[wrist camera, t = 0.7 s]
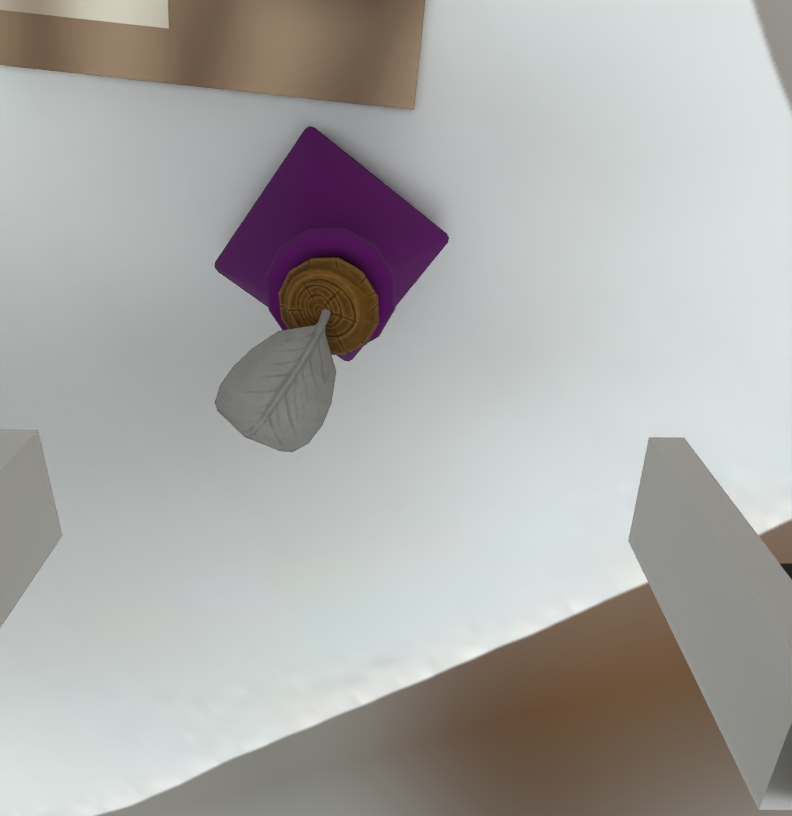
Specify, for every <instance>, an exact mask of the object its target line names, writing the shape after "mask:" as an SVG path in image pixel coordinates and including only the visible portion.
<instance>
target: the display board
mask: <svg viewBox="0 0 792 816" xmlns="http://www.w3.org/2000/svg"><path fill="white" fill-rule="evenodd" d="M424 7H425V0H0V65H5V66H15V67H24V68H33V69H42V70H51V71H61V72H70V73H79V74H88V75H97V76H107V77H116V78H125V79H134V80H144V81H153V82H162V83H171V84H180V85H190V86H199V87H208V88H217V89H226V90H236V91H245V92H254V93H263V94H273V95H282V96H291V97H300V98H309V99H319V100H328V101H337V102H346V103H355V104H365V105H374V106H383V107H392V108H402V109H411V110H414V104H415V94H416V84H417V75H418V65H419V55H420V46H421V36H422V26H423V16H424Z"/></svg>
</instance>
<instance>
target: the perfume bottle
mask: <svg viewBox="0 0 792 816" xmlns="http://www.w3.org/2000/svg"><path fill="white" fill-rule="evenodd" d="M448 240H449V237H448V235H447V233H445V232H444V231H443V230H442V229H440V228H439V227H438V226H437V225H435V224H434V223H433V222H432V221H430V220H429V219H428V218H427V217H425V216H424V215H423V214H422V213H420V212H419V211H418V210H417V209H415V208H414V207H413V206H412V205H410V204H409V203H408V202H407V201H405V200H404V199H403V198H402V197H400V196H399V195H398V194H397V193H395V192H394V191H393V190H392V189H390V188H389V187H388V186H387V185H385V184H384V183H383V182H382V181H380V180H379V179H378V178H377V177H375V176H374V175H373V174H372V173H370V172H369V171H368V170H367V169H365V168H364V167H363V166H362V165H360V164H359V163H358V162H357V161H355V160H354V159H353V158H352V157H350V156H349V155H348V154H347V153H345V152H344V151H343V150H342V149H341V148H339V147H338V146H337V145H336V144H334V143H333V142H332V141H331V140H329V139H328V138H327V137H326V136H324V135H323V134H322V133H321V132H319V131H318V130H317V129H316V128H314V127H310V126H309V127H308V128H306V129H305V130H304V132H303V133H302V135H301V136H300V138H299V139H298V141H297V142H296V144H295V145H294V147H293V148H292V149H291V151H290V152H289V154H288V155H287V157H286V158H285V160H284V161H283V163H282V164H281V166H280V167H279V169H278V170H277V172H276V173H275V175H274V176H273V178H272V179H271V181H270V182H269V183H268V185H267V186H266V188H265V189H264V191H263V192H262V194H261V195H260V197H259V198H258V200H257V201H256V203H255V204H254V206H253V207H252V209H251V210H250V212H249V213H248V215H247V216H246V218H245V219H244V220H243V222H242V223H241V225H240V226H239V228H238V229H237V231H236V232H235V234H234V235H233V237H232V238H231V240H230V241H229V243H228V244H227V246H226V247H225V249H224V250H223V252H222V253H221V254H220V256H219V257H218V259H217V260H216V262H215V268H216V269H217V271H218V272H219V273H221V274H222V275H223V276H225V277H226V278H228V279H229V280H231V281H232V282H233V283H235V284H236V285H238V286H239V287H241V288H242V289H243V290H245V291H246V292H248V293H249V294H250V295H252V296H253V297H255V298H256V299H258V300H259V301H260V302H262V303H263V304H265V305H266V306H268V307H269V311H270V312H271V314H272V315H273V317H274V318H275V319H276V321H277V322H278V324H279V325H280V327H281V328H282V330H283V331H278V332H277V333H275V334H274V335H272V336H271V337H269V338H268V339H266V340H265V341H263V342H262V343H260V344H258V345H257V346H255V347H254V348H252V349H251V350H250V351H249V352H248V353H247V354H246V355H245V356H244V357H243V358H242V359H241V360H240V361H239V362H238V363H237V364H236V365H235V366H234V367H233V368H232V369H231V371H230V372H229V374H228V375H227V376H226V378H225V379H224V381H223V382H222V383H221V385H220V388H219V391H218V394H217V397H216V400H215V404H216V407H217V411H218V412H219V413H220V414H221V415H223V416H224V417H225V418H226V419H227V420H228V421H229V422H230V423H231V424H232V425H233V426H234V427H235V428H236V429H237V430H238V431H239V432H240V433H241V434H242V435H243V436H245V437H246V438H249V439H251V440H254V441H256V442H259V443H261V444H264V445H266V446H269V447H271V448H274V449H276V450H279V451H286V452H294V451H295V450H297V449H299V448H301V447H303V446H305V445H306V444H308V443H309V442H310V441H311V439H312V438H313V437H314V435H315V434H316V433H317V431H318V430H319V429H320V427H321V426H322V424H323V422H324V419H325V417H326V415H327V412H328V410H329V407H330V405H331V401H332V395H333V389H334V382H335V376H336V369H335V366H334V362H333V359H332V355H337V356H339V357H340V358H341V359H343V360H345V361H350V360H352V359H353V358H354V357H355V356H356V354H357V353H358V352H359V351H360V350H361V348H362V347H363V346H364V345H366V344H367V343H368V342H370V341H372V340H373V339H375V338H377V337H379V335H380V334H381V332H382V330H383V328H384V327H385V325H386V323H387V322H388V320H389V318H390V317H391V315H392V313H393V312H394V310H395V307H396V305H397V304H398V303H399V302H400V300H401V299H402V298H403V297H404V295H405V294H406V293H407V292H408V291H409V289H410V288H411V287H412V286H413V284H414V283H415V282H416V281H417V280H418V278H419V277H420V276H421V275H422V273H423V272H424V271H425V270H426V268H427V267H428V266H429V265H430V264H431V262H432V261H433V260H434V259H435V257H436V256H437V255H438V254H439V252H440V251H441V250H442V249H443V248H444V246H445V245H446V244H447V243H448ZM331 354H332V355H331Z"/></svg>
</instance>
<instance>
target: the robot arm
mask: <svg viewBox="0 0 792 816" xmlns="http://www.w3.org/2000/svg"><path fill="white" fill-rule="evenodd" d="M61 537H62V532H61V527H60V523H59V519H58V515H57V510H56V506H55V502H54V497H53V493H52V489H51V484H50V480H49V476H48V471H47V467H46V463H45V458H44V454H43V450H42V445H41V441H40V437H39V432H38V430H1V431H0V627H1V626H2V624H3V623H4V621H5V620H6V618H7V617H8V615H9V614H10V613H11V611H12V610H13V608H14V607H15V605H16V604H17V602H18V601H19V599H20V598H21V596H22V595H23V593H24V592H25V590H26V589H27V587H28V586H29V584H30V583H31V581H32V580H33V578H34V577H35V575H36V574H37V572H38V571H39V569H40V568H41V566H42V565H43V563H44V562H45V560H46V559H47V557H48V556H49V555H50V553H51V552H52V550H53V549H54V547H55V546H56V544H57V543H58V541H59V540H60V538H61ZM628 541H629V543H630V545H631V547H632V549H633V551H634V553H635V556H636V558H637V560H638V562H639V564H640V566H641V568H642V570H643V572H644V574H645V576H646V578H647V580H648V582H649V584H650V586H651V589H652V591H653V593H654V595H655V597H656V599H657V601H658V603H659V605H660V607H661V609H662V611H663V613H664V615H665V617H666V619H667V622H668V623H669V626H670V627H671V630H672V632H673V634H674V636H675V638H676V640H677V642H678V644H679V646H680V648H681V650H682V652H683V654H684V656H685V659H686V661H687V663H688V665H689V667H690V669H691V671H692V673H693V675H694V677H695V679H696V681H697V683H698V685H699V687H700V690H701V692H702V694H703V696H704V698H705V700H706V702H707V704H708V706H709V708H710V710H711V712H712V714H713V716H714V718H715V720H716V723H717V725H718V727H719V729H720V731H721V733H722V735H723V737H724V739H725V741H726V743H727V745H728V747H729V749H730V751H731V753H732V755H733V757H734V760H735V762H736V763H737V766H738V768H739V770H740V772H741V774H742V776H743V778H744V780H745V782H746V784H747V786H748V788H749V791H750V792H751V795H752V797H753V799H754V801H755V803H756V805H757V807H758V809H759V810H792V564H779V563H778V561H777V560H776V558H775V557H774V556H773V554H772V553H771V552H770V550H769V549H768V548H767V547H766V545H765V544H764V543H763V541H762V540H761V539H760V537H759V536H758V535H757V533H756V532H755V531H754V529H753V528H752V527H751V525H750V524H749V523H748V521H747V520H746V519H745V517H744V516H743V515H742V513H741V512H740V511H739V510H738V508H737V507H736V506H735V504H734V503H733V502H732V500H731V499H730V498H729V496H728V495H727V494H726V492H725V491H724V490H723V488H722V487H721V486H720V484H719V483H718V482H717V480H716V479H715V478H714V476H713V475H712V474H711V473H710V471H709V470H708V469H707V467H706V466H705V465H704V463H703V462H702V461H701V459H700V458H699V457H698V455H697V454H696V453H695V451H694V450H693V449H692V447H691V446H690V445H689V443H688V442H687V441H686V440H685V438H659V437H649V440H648V445H647V450H646V455H645V460H644V465H643V470H642V475H641V480H640V485H639V490H638V495H637V500H636V505H635V510H634V515H633V520H632V525H631V530H630V535H629V540H628Z"/></svg>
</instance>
